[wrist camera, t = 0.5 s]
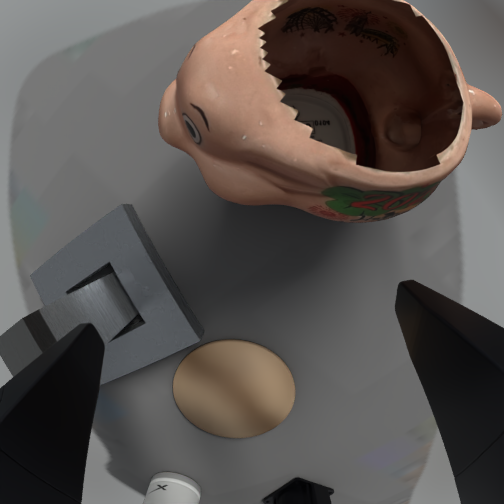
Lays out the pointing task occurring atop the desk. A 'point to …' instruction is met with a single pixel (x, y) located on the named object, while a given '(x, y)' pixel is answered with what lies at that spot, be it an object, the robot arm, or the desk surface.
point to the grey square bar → (68, 321)
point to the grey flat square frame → (135, 283)
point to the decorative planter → (325, 107)
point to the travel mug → (172, 489)
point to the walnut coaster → (234, 388)
